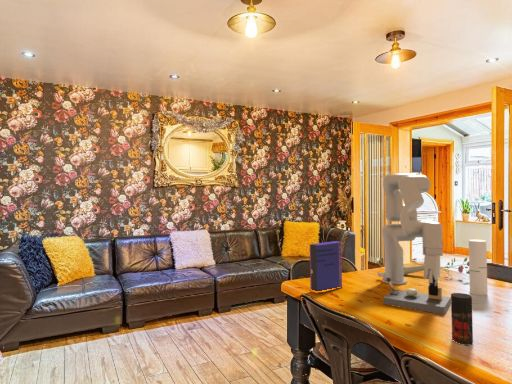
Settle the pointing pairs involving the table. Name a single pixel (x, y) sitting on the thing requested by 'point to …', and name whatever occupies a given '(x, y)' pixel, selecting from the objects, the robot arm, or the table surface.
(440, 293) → the paddle switch
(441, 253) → the robot arm
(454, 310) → the deodorant
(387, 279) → the toggle lever
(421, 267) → the flower vase
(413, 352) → the table surface
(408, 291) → the push button
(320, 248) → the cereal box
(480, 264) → the cylindrical container
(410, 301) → the control panel
